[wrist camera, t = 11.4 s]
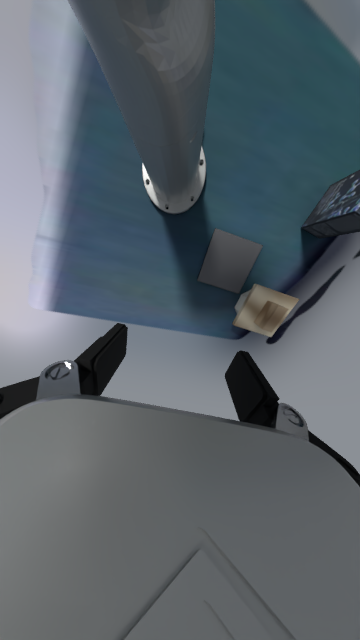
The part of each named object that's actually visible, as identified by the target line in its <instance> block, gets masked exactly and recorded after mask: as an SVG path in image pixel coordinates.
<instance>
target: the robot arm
mask: <svg viewBox="0 0 360 640" xmlns="http://www.w3.org/2000/svg"><path fill="white" fill-rule="evenodd" d="M68 2H69V4H70V6H71V8H72V10H73V12H74V13H75V15H76V17H77V19H78V21H79V23H80V25H81V27H82V29H83V31H84V33H85V35H86V37H87V39H88V41H89V43H90V45H91V47H92V49H93V51H94V53H95V55H96V57H97V60H98V62H99V64H100V66H101V68H102V71H103V73H104V75H105V77H106V79H107V82H108V84H109V86H110V88H111V91H112V93H113V95H114V98H115V100H116V102H117V105H118V107H119V109H120V111H121V114H122V116H123V118H124V121H125V123H126V125H127V128H128V130H129V132H130V135H131V137H132V139H133V141H134V144H135V146H136V148H137V151H138V153H139V155H140V158H141V160H142V162H143V163H142V173H143V180H144V185H145V188H146V190H147V193H148V195H149V197H150V198H151V200H152V201H153V203H154V204H155V205H156V206H157V207H158V208H159V209H160V210H162V211H164V212H166V213H169V214H180V213H183V212H185V211H187V210H189V209H190V208H191V207H192V206H193V205H194V204H195V202H196V201H197V200H198V198H199V196H200V194H201V192H202V189H203V186H204V182H205V175H206V161H205V155H204V151H203V148H202V139H203V132H204V124H205V117H206V109H207V102H208V94H209V87H210V79H211V71H212V64H213V54H214V42H215V0H68ZM200 164H202V166H200ZM148 183H150V184H149V185H148ZM191 199H193V201H191ZM167 207H168V209H166V208H167ZM127 329H128V328H127V327H126V326H125V325H124V324H120V323H117V324H116V325H115V326H114V327H113V328H112V329H110V330H109V331H108V332H107V333H106V334H105V335H104V336H103V337H100V338H99V339H98V340H96V341H95V342H94V343H93V344H92V345H91V346H90V347H89V348H88V349H87V350H85V351H84V352H83V353H82V354H81V355H80V356H79V357H78V358H77V359H76V360H74V361H70V360H64V361H59V362H56V363H53V364H51V365H49V366H48V367H46V368H45V369H44V370H43V371H42V372H41V375H40V376H39V377H36V378H33V379H29V380H26V381H22V382H19V383H16V384H13V385H9V386H7V387H3V388H0V640H360V474H359V473H358V472H357V470H356V469H355V468H354V467H353V466H352V465H351V464H350V463H349V462H348V461H347V460H346V459H344V458H343V457H342V456H341V455H339V454H338V453H337V452H336V451H334V450H333V449H332V448H330V447H329V446H328V445H327V444H325V443H324V442H323V441H321V440H320V439H319V438H317V437H316V436H315V435H314V434H312V433H311V432H310V431H309V430H308V427H307V423H306V421H305V420H304V418H303V417H302V416H301V414H299V412H298V411H296V410H295V409H294V408H293V407H291V406H289V405H287V404H285V403H280V404H279V403H278V402H277V401H278V400H279V397H278V396H277V394H276V393H275V391H274V390H273V388H272V387H271V386H270V384H269V383H268V381H267V380H266V378H265V377H264V375H263V374H262V372H261V371H260V369H259V368H258V366H257V365H256V363H255V362H254V360H253V359H252V357H251V356H250V354H249V353H248V352H245V351H239V352H237V354H236V355H235V357H234V359H233V361H232V363H231V364H230V366H229V368H228V370H227V371H226V373H225V379H226V382H227V385H228V388H229V391H230V394H231V397H232V400H233V403H234V406H235V409H236V412H237V415H238V418H239V420H240V421H235V420H230V419H224V418H220V417H214V416H209V415H204V414H198V413H193V412H188V411H182V410H176V409H171V408H166V407H160V406H154V405H149V404H144V403H138V402H132V401H127V400H121V399H114V398H108V397H102V396H100V395H101V394H102V392H103V390H104V389H105V387H106V386H107V384H108V383H109V381H110V379H111V377H112V376H113V375H114V373H115V371H116V370H117V368H118V367H119V365H120V363H121V362H122V360H123V359H124V357H125V355H126V345H127Z"/></svg>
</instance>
